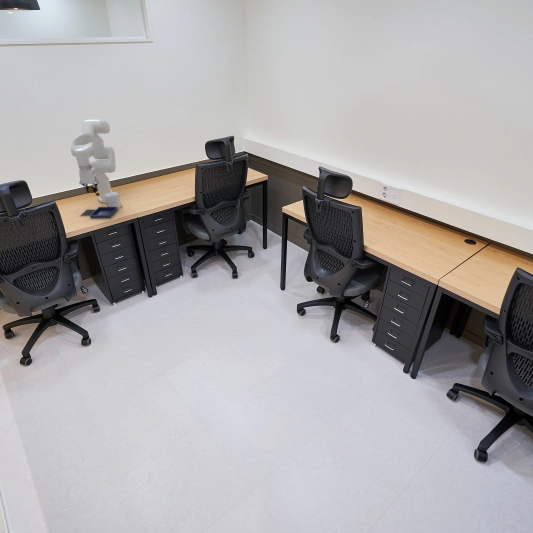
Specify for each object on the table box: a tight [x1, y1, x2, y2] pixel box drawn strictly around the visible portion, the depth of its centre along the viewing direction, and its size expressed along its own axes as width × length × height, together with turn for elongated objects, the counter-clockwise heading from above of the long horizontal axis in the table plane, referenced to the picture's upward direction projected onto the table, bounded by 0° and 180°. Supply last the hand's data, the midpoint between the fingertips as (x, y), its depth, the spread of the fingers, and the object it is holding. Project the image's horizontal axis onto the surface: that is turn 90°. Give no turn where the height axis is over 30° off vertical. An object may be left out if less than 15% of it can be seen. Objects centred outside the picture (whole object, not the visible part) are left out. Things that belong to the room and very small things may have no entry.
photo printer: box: [105, 191, 122, 209], centre depth 268 cm, size 10×4×12 cm, turn 123°
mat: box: [80, 209, 96, 217], centre depth 264 cm, size 11×7×1 cm, turn 179°
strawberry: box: [88, 185, 95, 194], centre depth 252 cm, size 8×4×4 cm, turn 1°
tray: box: [89, 206, 119, 219], centre depth 261 cm, size 15×14×3 cm
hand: (92, 192), depth 253 cm, fingers closed on strawberry, 4 cm apart
